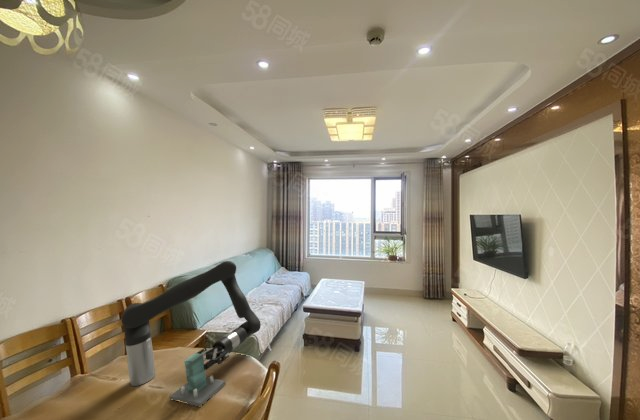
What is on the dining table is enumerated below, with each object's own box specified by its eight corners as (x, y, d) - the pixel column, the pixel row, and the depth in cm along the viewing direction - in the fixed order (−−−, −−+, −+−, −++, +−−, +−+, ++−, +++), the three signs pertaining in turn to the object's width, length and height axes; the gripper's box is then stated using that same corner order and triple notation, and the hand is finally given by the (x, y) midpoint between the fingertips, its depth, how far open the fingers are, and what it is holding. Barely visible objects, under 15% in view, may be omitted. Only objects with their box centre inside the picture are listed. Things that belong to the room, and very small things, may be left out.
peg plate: (170, 400, 95) (168, 389, 96) (196, 379, 107) (195, 369, 107) (200, 407, 89) (199, 396, 89) (225, 384, 100) (224, 374, 100)
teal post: (188, 392, 96) (184, 360, 97) (199, 383, 101) (195, 353, 101) (196, 393, 95) (192, 361, 95) (206, 384, 99) (202, 354, 100)
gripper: (213, 335, 116) (182, 355, 101) (238, 337, 111) (208, 358, 96) (216, 351, 116) (185, 373, 101) (240, 354, 111) (211, 378, 96)
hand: (196, 366), depth 98 cm, fingers open, 8 cm apart
